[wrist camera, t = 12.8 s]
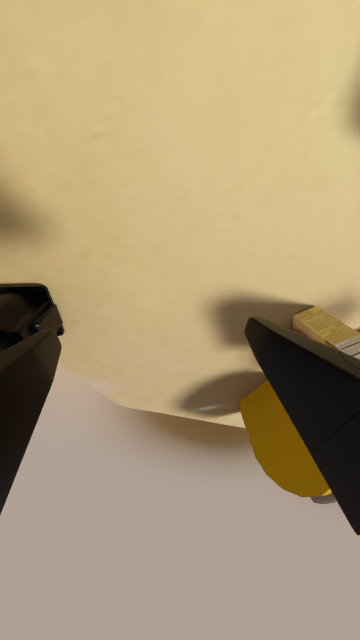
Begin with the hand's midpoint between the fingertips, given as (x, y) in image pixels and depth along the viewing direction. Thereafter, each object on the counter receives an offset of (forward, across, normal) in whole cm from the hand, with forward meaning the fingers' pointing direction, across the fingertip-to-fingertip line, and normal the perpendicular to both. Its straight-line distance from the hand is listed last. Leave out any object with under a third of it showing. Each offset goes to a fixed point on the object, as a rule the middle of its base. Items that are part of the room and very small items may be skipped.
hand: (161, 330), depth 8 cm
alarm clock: (+13, -26, +31) cm, 43 cm away
